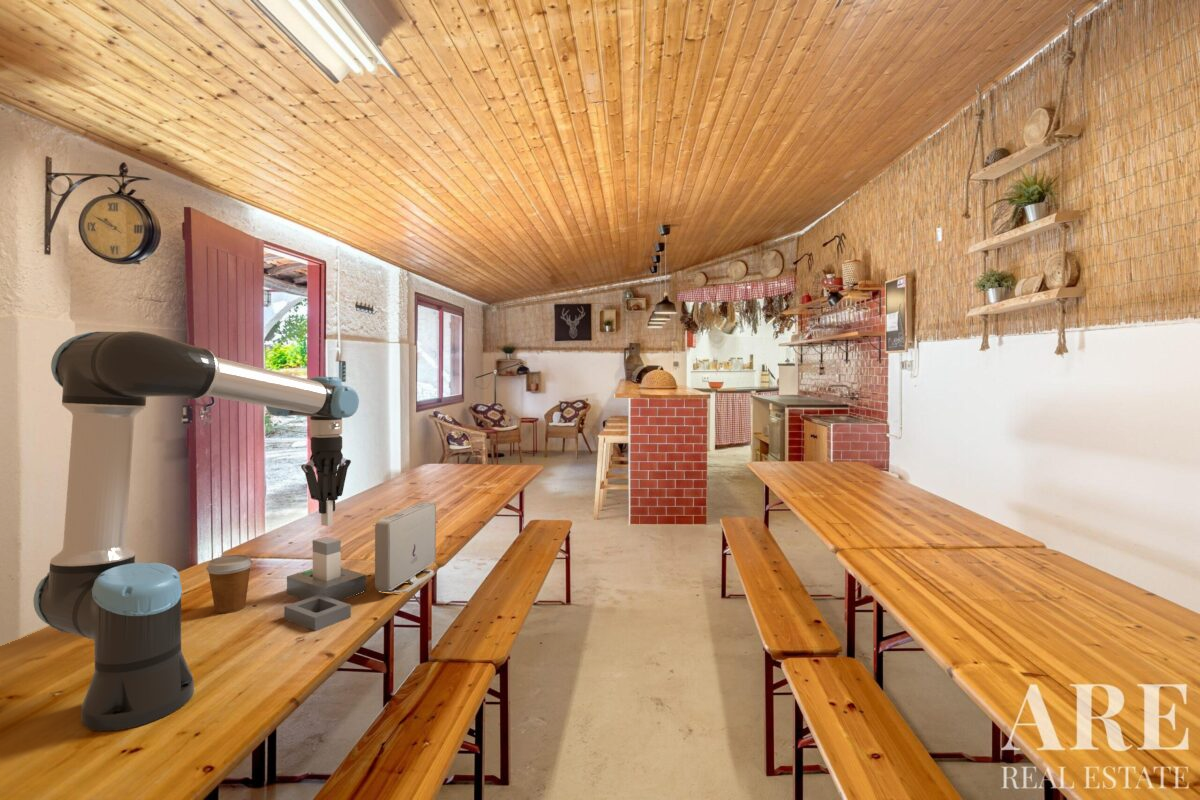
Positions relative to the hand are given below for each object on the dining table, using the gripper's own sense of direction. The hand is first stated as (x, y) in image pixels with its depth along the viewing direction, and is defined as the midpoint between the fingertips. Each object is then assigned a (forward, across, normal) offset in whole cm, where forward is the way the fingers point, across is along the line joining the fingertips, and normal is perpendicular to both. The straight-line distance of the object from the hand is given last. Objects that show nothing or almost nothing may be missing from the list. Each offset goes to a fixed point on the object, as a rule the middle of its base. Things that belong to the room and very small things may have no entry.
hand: (327, 524), depth 152 cm
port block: (+18, 0, 0) cm, 18 cm away
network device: (+18, +17, -11) cm, 27 cm away
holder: (+18, -11, -13) cm, 25 cm away
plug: (+18, 0, 0) cm, 18 cm away
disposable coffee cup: (+18, -19, +10) cm, 28 cm away
